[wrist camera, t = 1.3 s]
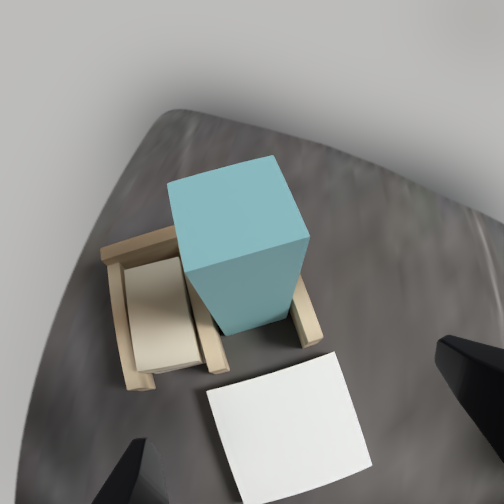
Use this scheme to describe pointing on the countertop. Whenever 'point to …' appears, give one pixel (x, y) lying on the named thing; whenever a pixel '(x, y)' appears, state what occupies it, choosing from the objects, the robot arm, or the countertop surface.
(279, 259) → the teal rectangular block
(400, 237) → the countertop surface
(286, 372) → the white pad
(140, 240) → the oak rack
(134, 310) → the offcut top
